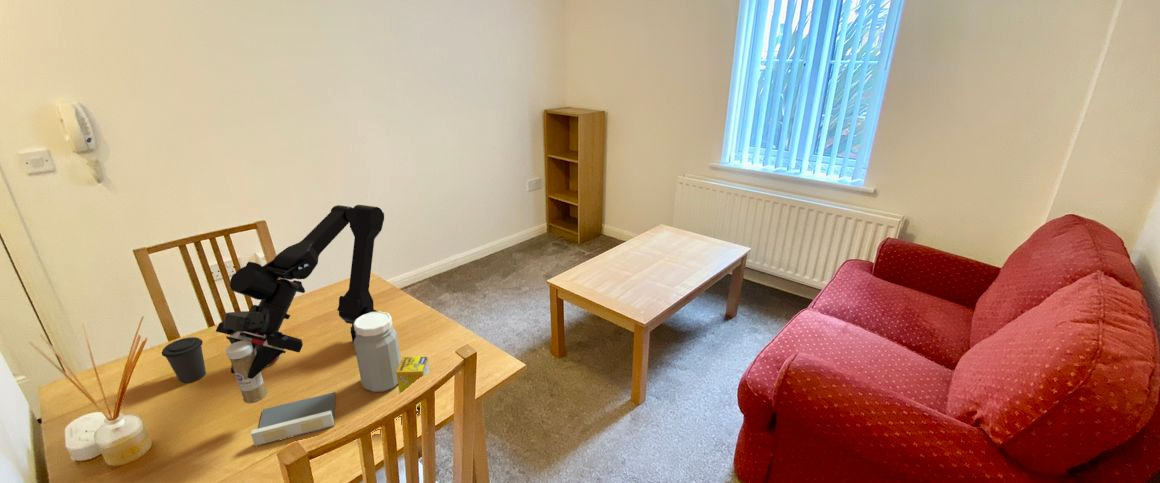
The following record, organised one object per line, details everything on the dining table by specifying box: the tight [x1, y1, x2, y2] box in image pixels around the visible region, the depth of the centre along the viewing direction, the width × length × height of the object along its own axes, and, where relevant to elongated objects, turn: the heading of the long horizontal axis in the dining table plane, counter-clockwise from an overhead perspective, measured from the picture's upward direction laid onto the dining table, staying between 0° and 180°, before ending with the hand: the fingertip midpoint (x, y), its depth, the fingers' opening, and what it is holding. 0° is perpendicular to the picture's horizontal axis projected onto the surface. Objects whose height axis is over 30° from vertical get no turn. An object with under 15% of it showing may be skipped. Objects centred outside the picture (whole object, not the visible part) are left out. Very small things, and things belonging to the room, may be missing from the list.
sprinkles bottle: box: [225, 340, 268, 404], centre depth 104 cm, size 5×5×13 cm
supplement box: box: [396, 355, 431, 411], centre depth 113 cm, size 6×6×11 cm
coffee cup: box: [161, 336, 207, 384], centre depth 121 cm, size 8×8×10 cm
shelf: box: [250, 391, 336, 448], centre depth 109 cm, size 15×12×4 cm
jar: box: [352, 311, 402, 393], centre depth 118 cm, size 10×10×18 cm
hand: (241, 375), depth 103 cm, fingers closed on sprinkles bottle, 4 cm apart
